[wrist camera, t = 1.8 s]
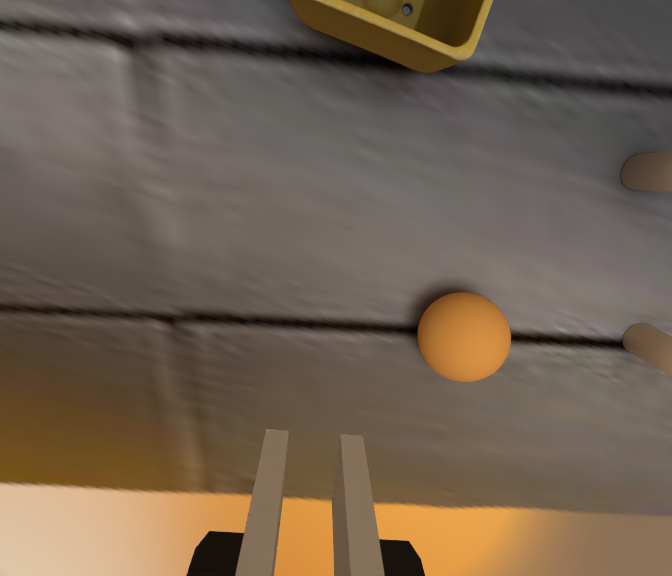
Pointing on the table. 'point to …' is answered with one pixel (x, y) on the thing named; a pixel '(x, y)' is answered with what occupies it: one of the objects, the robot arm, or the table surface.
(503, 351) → the ball
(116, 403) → the table surface
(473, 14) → the flower pot
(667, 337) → the cream pin
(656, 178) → the beige tapered peg
